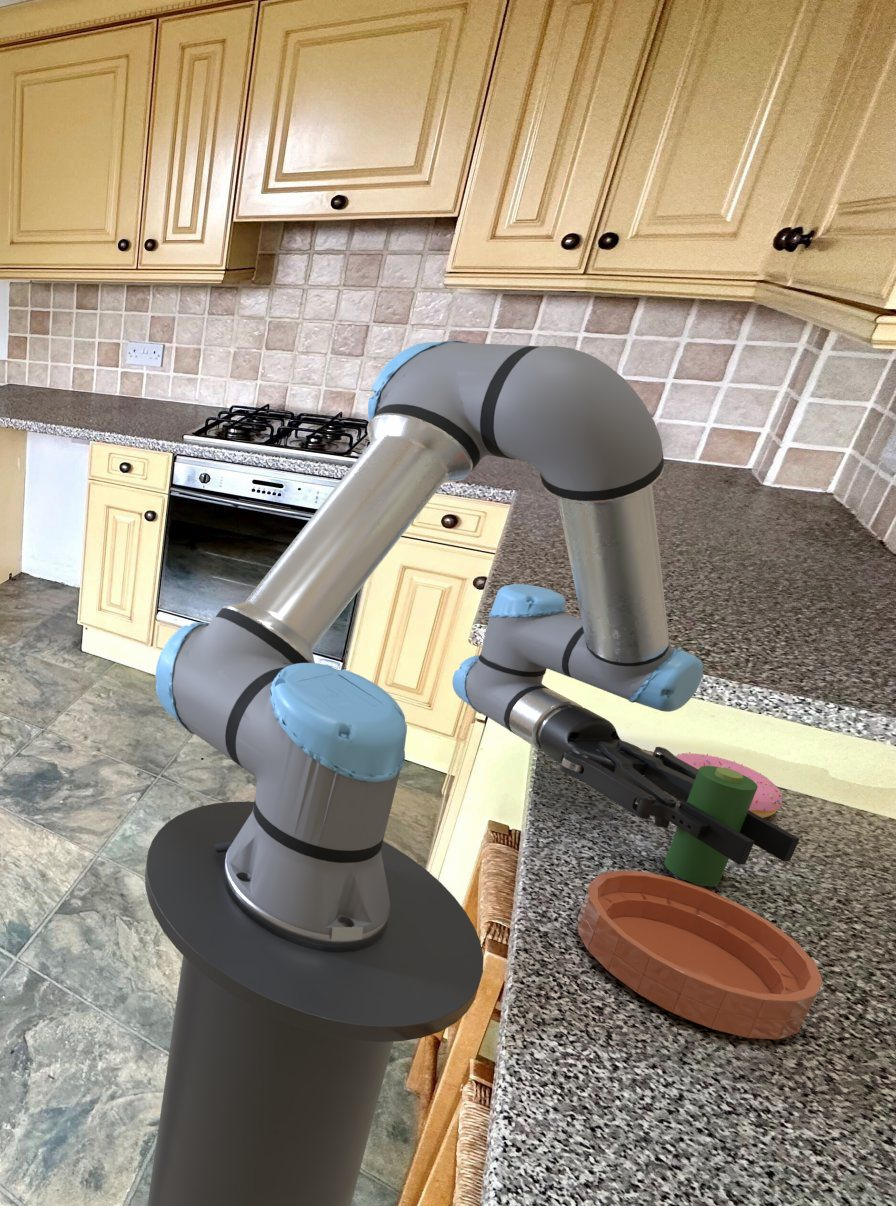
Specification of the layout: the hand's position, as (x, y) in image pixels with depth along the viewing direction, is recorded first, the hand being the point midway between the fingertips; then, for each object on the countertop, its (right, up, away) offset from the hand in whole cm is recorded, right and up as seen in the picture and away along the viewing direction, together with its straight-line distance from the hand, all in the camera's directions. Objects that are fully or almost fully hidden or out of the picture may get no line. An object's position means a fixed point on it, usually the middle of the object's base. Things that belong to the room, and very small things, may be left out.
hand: (768, 851), depth 77 cm
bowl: (-13, -9, -5) cm, 17 cm away
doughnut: (+16, -1, +22) cm, 27 cm away
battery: (-1, -5, +7) cm, 9 cm away
